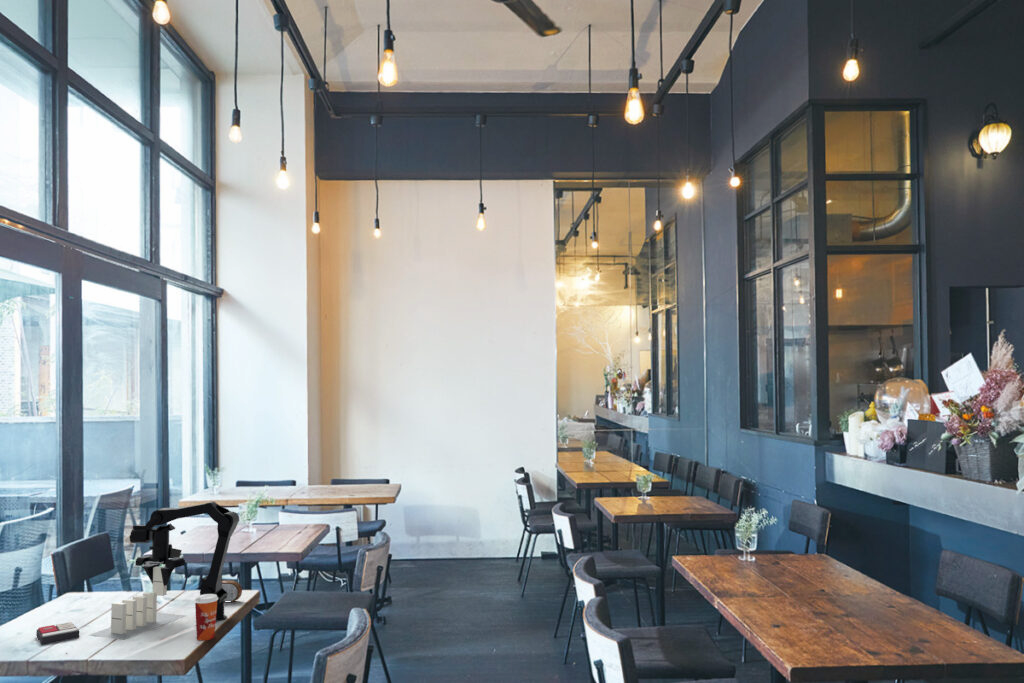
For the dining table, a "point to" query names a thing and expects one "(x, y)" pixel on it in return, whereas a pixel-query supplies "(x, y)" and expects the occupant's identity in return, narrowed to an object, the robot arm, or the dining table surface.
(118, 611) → the domino
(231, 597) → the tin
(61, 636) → the black and red box
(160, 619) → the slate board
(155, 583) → the domino
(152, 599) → the domino
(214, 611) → the paper cup
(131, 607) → the domino
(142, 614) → the domino
